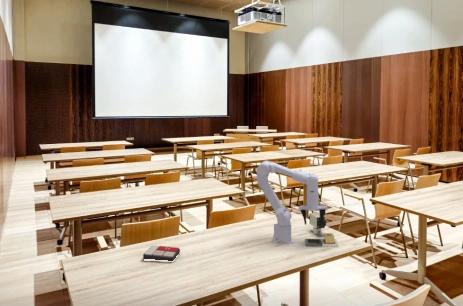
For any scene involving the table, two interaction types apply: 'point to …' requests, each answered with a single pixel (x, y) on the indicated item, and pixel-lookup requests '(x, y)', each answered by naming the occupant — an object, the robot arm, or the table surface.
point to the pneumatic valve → (316, 222)
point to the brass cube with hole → (328, 238)
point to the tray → (319, 243)
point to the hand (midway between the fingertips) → (312, 223)
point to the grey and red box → (161, 253)
